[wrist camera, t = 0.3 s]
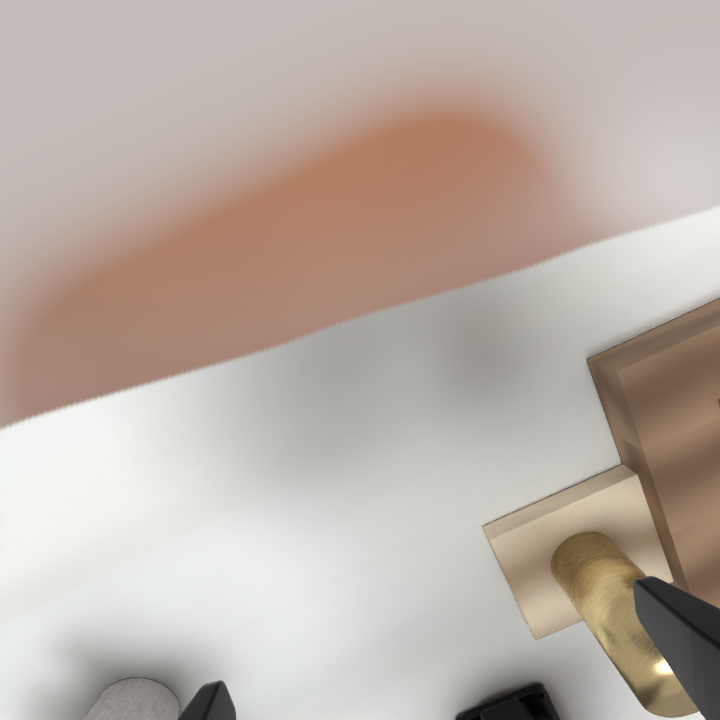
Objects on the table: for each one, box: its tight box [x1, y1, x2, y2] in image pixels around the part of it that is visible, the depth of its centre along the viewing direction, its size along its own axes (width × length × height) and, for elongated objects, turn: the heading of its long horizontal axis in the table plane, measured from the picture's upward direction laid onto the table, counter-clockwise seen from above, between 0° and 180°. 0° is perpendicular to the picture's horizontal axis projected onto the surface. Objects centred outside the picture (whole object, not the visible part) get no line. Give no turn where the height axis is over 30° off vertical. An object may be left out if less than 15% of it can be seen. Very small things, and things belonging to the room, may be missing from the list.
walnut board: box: [483, 298, 720, 640], centre depth 23 cm, size 19×23×3 cm
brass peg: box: [551, 531, 699, 718], centre depth 20 cm, size 4×4×7 cm
